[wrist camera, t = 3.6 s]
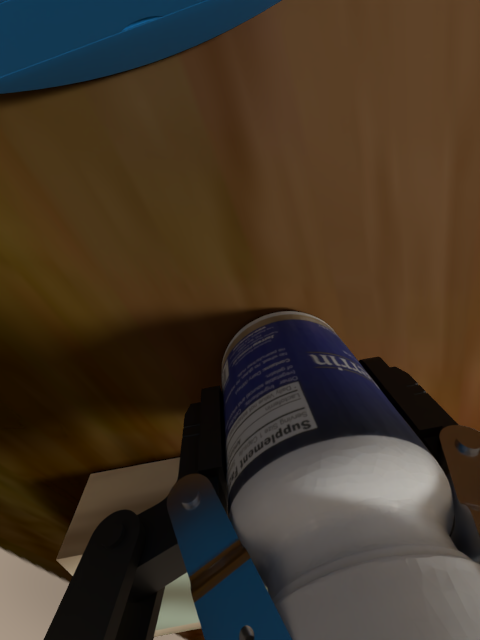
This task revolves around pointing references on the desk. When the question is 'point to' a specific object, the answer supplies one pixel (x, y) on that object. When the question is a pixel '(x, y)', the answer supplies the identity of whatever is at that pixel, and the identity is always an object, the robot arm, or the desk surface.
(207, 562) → the robot arm
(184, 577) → the base
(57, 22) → the alarm clock
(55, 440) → the desk surface
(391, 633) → the pill bottle
